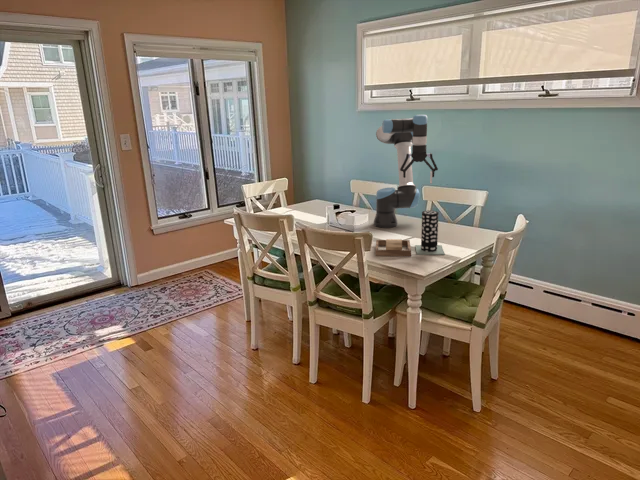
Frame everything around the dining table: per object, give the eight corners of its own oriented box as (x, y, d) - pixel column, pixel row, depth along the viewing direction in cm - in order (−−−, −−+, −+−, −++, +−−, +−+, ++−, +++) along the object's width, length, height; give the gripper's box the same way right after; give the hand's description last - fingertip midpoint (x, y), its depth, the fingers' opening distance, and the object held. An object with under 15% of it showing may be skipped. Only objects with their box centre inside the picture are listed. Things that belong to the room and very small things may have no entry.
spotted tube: (439, 247, 236) (440, 211, 230) (434, 252, 229) (435, 215, 223) (423, 245, 240) (424, 209, 234) (418, 250, 233) (419, 213, 227)
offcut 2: (385, 248, 234) (385, 243, 233) (401, 248, 234) (401, 243, 233) (386, 251, 229) (386, 246, 229) (402, 251, 229) (402, 246, 228)
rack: (376, 245, 247) (376, 239, 246) (409, 245, 244) (409, 240, 243) (375, 255, 230) (375, 250, 229) (411, 256, 227) (411, 250, 226)
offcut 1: (386, 243, 234) (386, 239, 233) (401, 243, 232) (401, 239, 232) (386, 246, 229) (386, 242, 228) (401, 246, 228) (402, 242, 227)
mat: (415, 246, 242) (415, 245, 242) (441, 246, 240) (441, 245, 240) (416, 254, 229) (416, 253, 229) (444, 254, 227) (444, 253, 227)
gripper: (396, 145, 238) (395, 184, 245) (444, 144, 235) (442, 184, 241) (395, 144, 245) (395, 182, 252) (442, 143, 242) (440, 181, 248)
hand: (418, 183), depth 246 cm, fingers open, 13 cm apart
